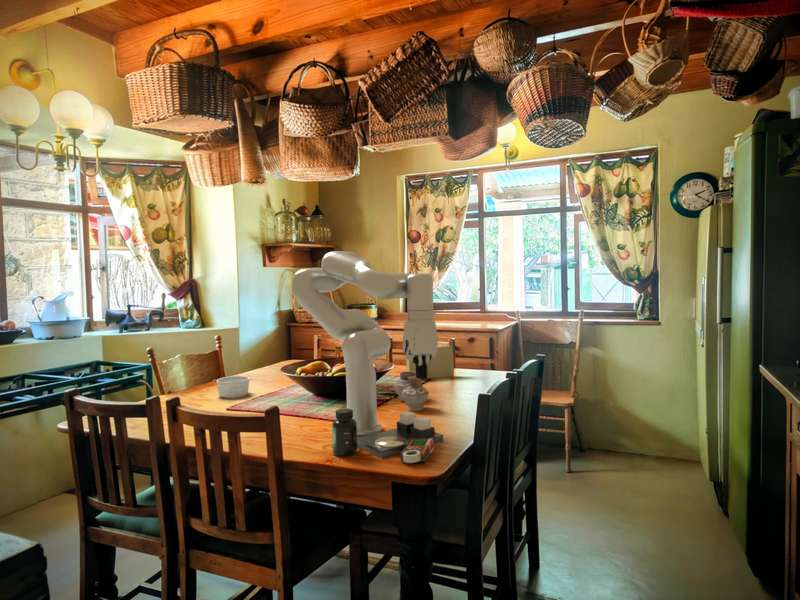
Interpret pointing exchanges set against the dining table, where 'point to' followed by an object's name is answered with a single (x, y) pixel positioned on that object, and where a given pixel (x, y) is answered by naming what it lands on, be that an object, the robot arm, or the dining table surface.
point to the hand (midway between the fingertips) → (421, 378)
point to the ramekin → (233, 386)
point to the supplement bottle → (344, 433)
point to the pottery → (411, 391)
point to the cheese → (437, 364)
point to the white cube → (422, 423)
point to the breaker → (407, 418)
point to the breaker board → (395, 439)
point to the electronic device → (417, 450)
